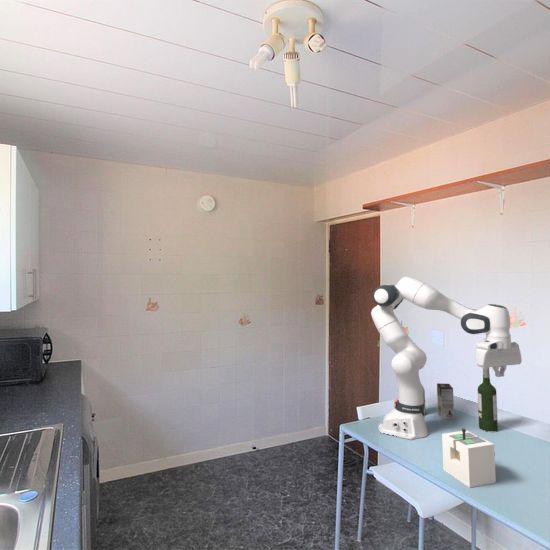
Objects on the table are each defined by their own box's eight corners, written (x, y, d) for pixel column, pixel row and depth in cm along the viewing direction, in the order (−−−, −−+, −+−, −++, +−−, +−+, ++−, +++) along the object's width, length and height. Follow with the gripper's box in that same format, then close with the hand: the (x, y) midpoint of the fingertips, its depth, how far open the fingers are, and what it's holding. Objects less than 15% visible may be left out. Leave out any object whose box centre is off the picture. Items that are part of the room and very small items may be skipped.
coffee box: (437, 412, 199) (436, 383, 200) (450, 413, 198) (448, 383, 199) (441, 418, 190) (440, 387, 191) (454, 419, 189) (453, 388, 190)
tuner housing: (467, 465, 141) (466, 429, 142) (495, 482, 129) (494, 443, 129) (443, 469, 138) (442, 433, 139) (469, 487, 126) (468, 447, 126)
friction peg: (482, 455, 139) (480, 422, 139) (495, 462, 133) (493, 428, 134) (454, 459, 136) (453, 426, 136) (466, 467, 130) (465, 432, 130)
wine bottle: (478, 424, 181) (475, 363, 182) (496, 427, 178) (494, 365, 179) (479, 430, 174) (477, 367, 175) (499, 433, 171) (496, 368, 171)
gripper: (511, 340, 159) (513, 372, 158) (472, 343, 154) (473, 376, 153) (525, 342, 153) (526, 376, 152) (484, 345, 148) (486, 380, 147)
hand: (499, 376), depth 153 cm, fingers closed
